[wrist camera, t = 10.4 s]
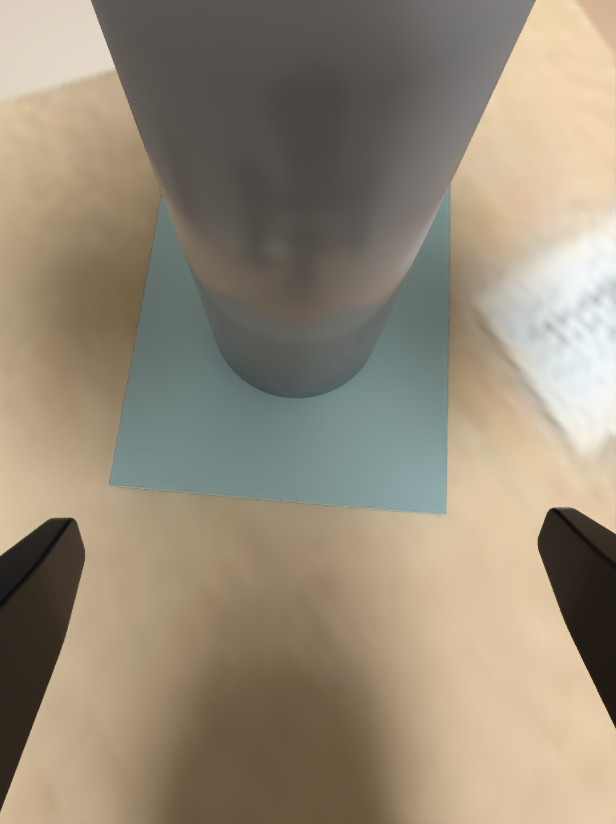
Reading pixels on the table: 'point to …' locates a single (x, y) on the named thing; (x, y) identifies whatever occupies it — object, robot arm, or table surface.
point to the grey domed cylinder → (305, 157)
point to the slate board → (289, 402)
